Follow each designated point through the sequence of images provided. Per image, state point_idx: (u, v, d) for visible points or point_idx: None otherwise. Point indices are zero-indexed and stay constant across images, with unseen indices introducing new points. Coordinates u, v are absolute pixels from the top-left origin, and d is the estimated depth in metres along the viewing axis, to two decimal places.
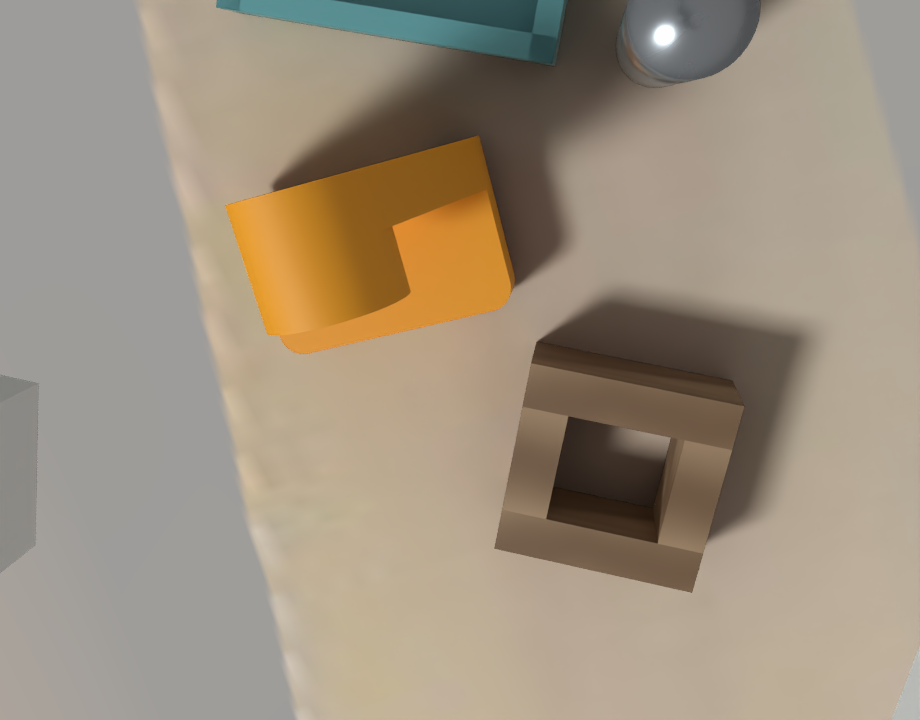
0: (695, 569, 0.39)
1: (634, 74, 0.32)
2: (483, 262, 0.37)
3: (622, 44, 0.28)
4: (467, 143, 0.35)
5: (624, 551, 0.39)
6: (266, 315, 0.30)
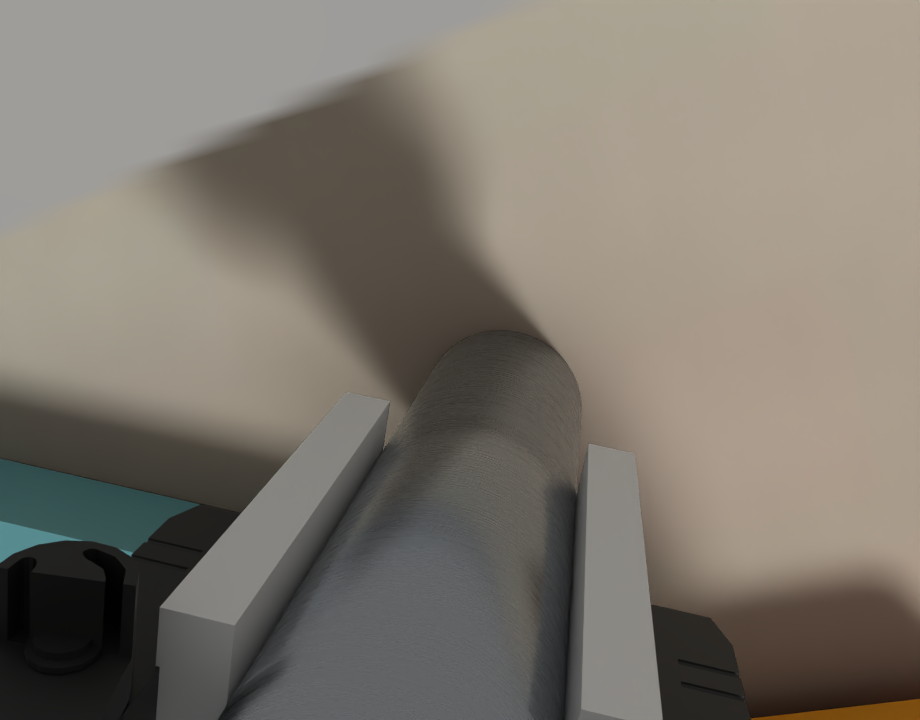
0: None
1: None
2: None
3: None
4: None
5: None
6: None
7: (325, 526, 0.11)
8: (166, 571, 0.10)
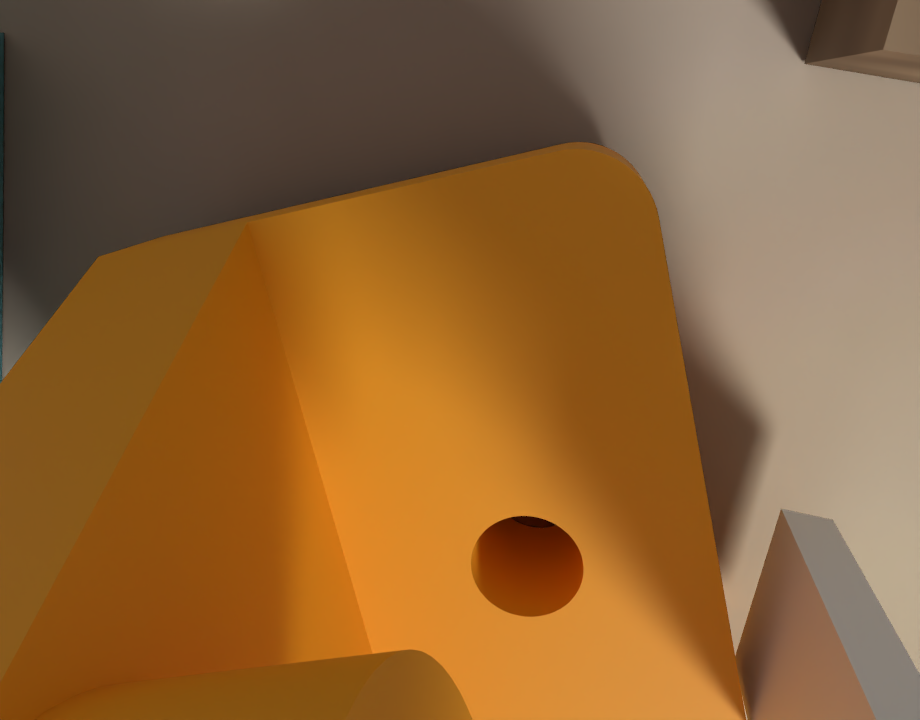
0: None
1: None
2: (483, 243, 0.11)
3: None
4: (92, 278, 0.11)
5: None
6: None
7: None
8: None
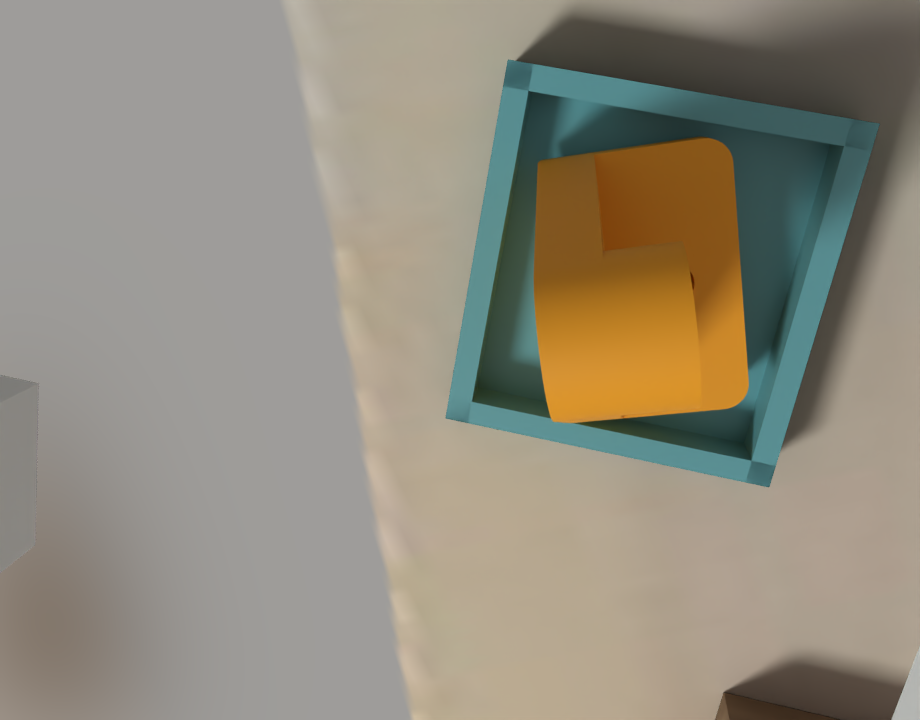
0: None
1: None
2: (674, 167, 0.33)
3: None
4: (542, 169, 0.33)
5: None
6: (676, 402, 0.27)
7: None
8: None
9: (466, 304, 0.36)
